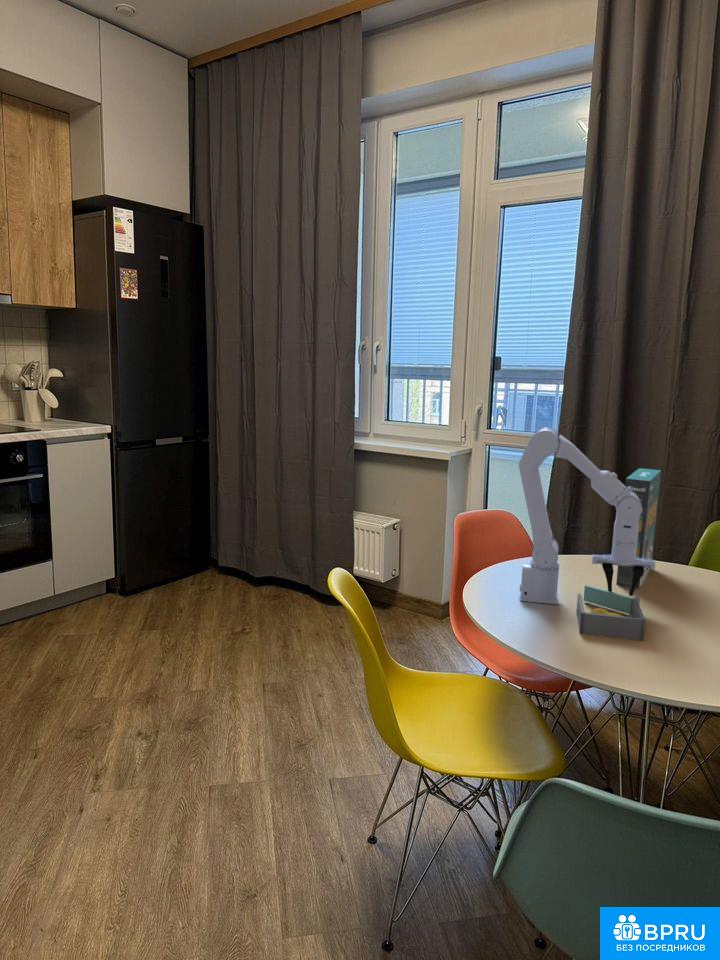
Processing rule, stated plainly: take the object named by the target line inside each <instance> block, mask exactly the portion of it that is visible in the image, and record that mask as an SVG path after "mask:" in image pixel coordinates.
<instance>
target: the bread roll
mask: <svg viewBox="0 0 720 960" xmlns="http://www.w3.org/2000/svg"><path fill="white" fill-rule="evenodd" d="M588 613H595V614H604V615H614V616H623V615H622V614H620V613H617V612H609V611H608V610H607V609H604V608H601V607H598V608H597V607H596V608H593V609H592V610H591V611H590V612H588Z"/></svg>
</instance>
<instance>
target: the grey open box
mask: <svg viewBox="0 0 720 960" xmlns="http://www.w3.org/2000/svg"><path fill="white" fill-rule="evenodd" d="M576 599H577V601H576V611H575V612H576V619H577V625H578V631H579V634H583V635H591V636H598V637H599V636H600V637H608V638H609V637H610V638H617V639H625V640H627V639H628V640H633V641H634V640H636V641H642V642H643V641H644V640H645V630H646V629H645V628H646V618H645V616H644V613H643V609H642V608H641V606H640V604H639V603H638V601H637V600H636V599H634V600H633V610H632V615H631V614H628V616H623V615H622V616H614V615H604V614H595V613H589V612H585V607H584V601H583V600H584V599H583V595H582V593H577V598H576ZM644 642H645V641H644Z"/></svg>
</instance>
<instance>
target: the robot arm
mask: <svg viewBox="0 0 720 960" xmlns="http://www.w3.org/2000/svg"><path fill="white" fill-rule="evenodd" d="M554 453H555V454H554ZM553 454H554V456H555V458H560V459H564V460H567V461H569V462H570V463H571V464H572V465H573V466H574V467H576V468H577V469H578V470H580V472H582V473H583V475H585V476H586V477H587V478H588V479H590V482H591V483H590V486H591V488H592V489H593V490H594V491H595V492H596V493H597V494H598V495H599V496H600V497H602V499H604V501H606V502H607V503H608V504H609V505H611V506H614V508H615V511H616V512H615V521H614V522H613V534H612V545H611V546H612V547H611V554H591V564H593V565H598V564H599V565H601V566H602V570H603V572H604V575H605V578H606V579H605V580H606V583H607V584H606V585H607V591H611V592H613V578H614V577H613V576H614V566H618V565H619V566H630V567H631V579H630V585H629V587H628V595H629V597H634V591H635V589H636V588H635V587H636V585H637V583H638V581H639V580H640V578H641V577H642V576H643V574H644V568H650V570H656V569H655V567H656V561H655V559H652V560H650V559H644V558H638V557H636V552H637V542H638V532H639V523H638V522H639V515H640V514H641V513H642V510H643V509H642V505H641V502H640V500H639V498H638V496H637V495H636V494H635V493H634V492H632V489H631V488H630V487H628V488H627V487H626V486H625V485H626V484H624V483H623V482H622V481H621V480H619V478H618V474H617V473H615V472H614V471H613V472H611V471H610V470H601V469H599V468H598V467H597V466H596V465H595V464H594V463H593V462H592V461H591V460H590V459H589V458H588V457H587V456H586V455H585V454H584V453H583V452H582V451H581V450H580V449H579V448H578V447H577V446H576V445H575V444H574V443H572V442H571V441H570V440H569V439H568V438H566V437H565V436H563V435H562V434H558V431H556V429H554V428H551V427H548V426H547V427H542V428H540V429H538V430H537V431H536V432H535V433H534V435H532V437H530V438H529V440H528V442H527V444H526V446H525V449H524V450H523V453H522V455H521V457H520V459H519V462H518V468H519V474H520V478H521V483H522V484H521V485H522V488H523V489H522V490H523V492H524V499H525V503H526V504H525V505H526V509H527V513H528V518H529V523H530V527H531V535H532V544H533V550H532V553H531V560H530V563H522V567H521V568H522V570H521V584H519V589H518V591H519V592H520V598H519V599H520V600H519V601H522V602H529V603H539V604H540V603H541V604H546V605H547V604H548V605H549V604H550V605H559V604H560V602H559V593H558V589H559V587H558V586H559V572H560V563H559V562H558V561H559V550H560V546H559V544H558V541H557V540H556V539H555V538H554V535H553V531H552V528H551V524H550V521H549V514H548V510H547V505H546V499H545V495H544V490H543V485H542V478H541V473H540V469H539V468H540V466H541V465H542V464H543V462H544V461H545V460H547V458H549V457H551V456H552V455H553Z"/></svg>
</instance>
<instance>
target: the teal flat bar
mask: <svg viewBox="0 0 720 960" xmlns="http://www.w3.org/2000/svg"><path fill="white" fill-rule="evenodd" d="M583 590H584V592H583V599H582V600H583V602H586V603H591V604H593V605H597V606H601V607H604V608H607V609H611V610H614V611H618V612H621V613H624V614H627V615H630V614H631V615H632V610H633V600H634V599H636V600H637V601H638V603H639V605H640V604H641V603H640V601H641V597H639V596H630V595H629V596H628V595H624V594H621V593H617V592H614V591H612V592H611V591H608V589H607V590H606V589H602V588H600V587H596V586H591V585H588V584H586V585H584V589H583Z"/></svg>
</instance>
